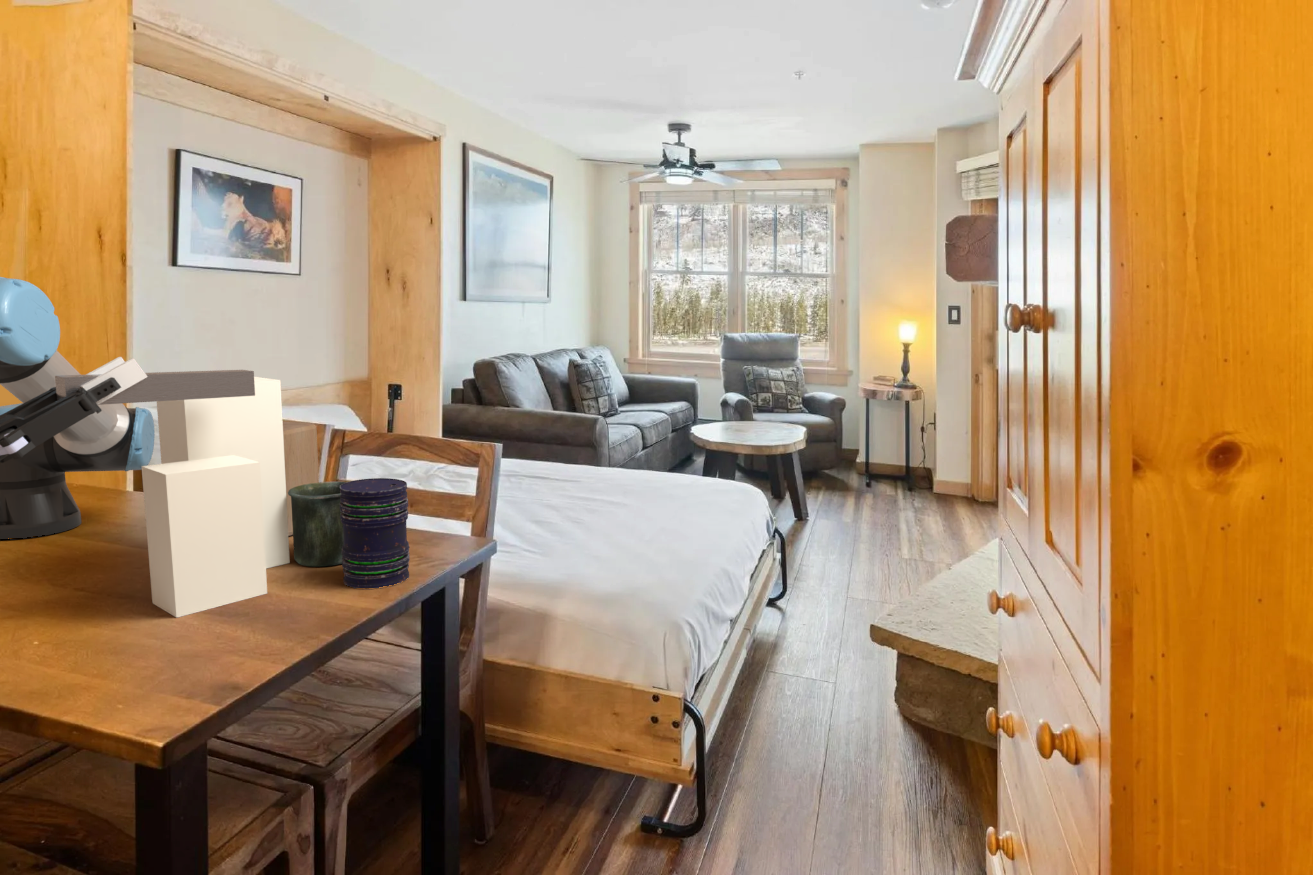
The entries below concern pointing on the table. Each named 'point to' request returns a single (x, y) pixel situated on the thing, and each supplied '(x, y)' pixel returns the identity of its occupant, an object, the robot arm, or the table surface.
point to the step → (204, 533)
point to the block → (299, 459)
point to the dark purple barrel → (374, 532)
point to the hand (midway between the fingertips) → (132, 366)
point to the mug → (317, 524)
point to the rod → (170, 386)
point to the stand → (236, 447)
